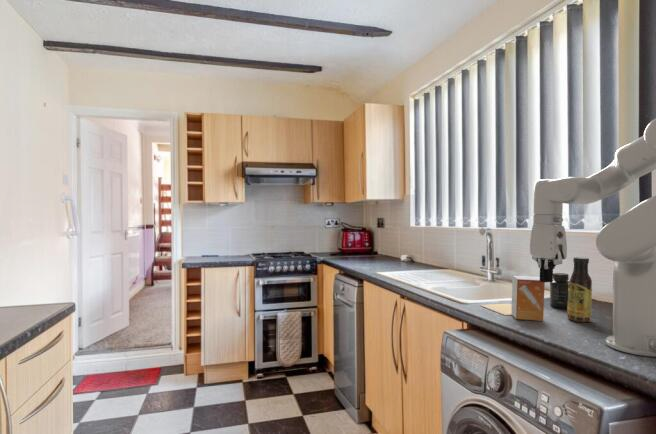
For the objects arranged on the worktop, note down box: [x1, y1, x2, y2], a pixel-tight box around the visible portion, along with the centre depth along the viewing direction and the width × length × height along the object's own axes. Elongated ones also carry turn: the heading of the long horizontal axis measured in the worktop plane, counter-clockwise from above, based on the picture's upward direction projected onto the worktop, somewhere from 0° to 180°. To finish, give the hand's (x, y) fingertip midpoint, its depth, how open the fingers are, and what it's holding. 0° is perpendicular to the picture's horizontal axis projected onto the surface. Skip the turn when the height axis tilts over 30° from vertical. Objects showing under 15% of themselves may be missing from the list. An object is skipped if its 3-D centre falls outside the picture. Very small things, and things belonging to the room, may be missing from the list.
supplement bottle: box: [549, 272, 570, 310], centre depth 138 cm, size 7×7×12 cm
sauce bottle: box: [566, 256, 593, 323], centre depth 121 cm, size 7×6×20 cm
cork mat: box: [479, 303, 513, 317], centre depth 135 cm, size 14×12×1 cm
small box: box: [511, 275, 546, 322], centre depth 124 cm, size 8×6×13 cm
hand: (546, 281), depth 116 cm, fingers closed
